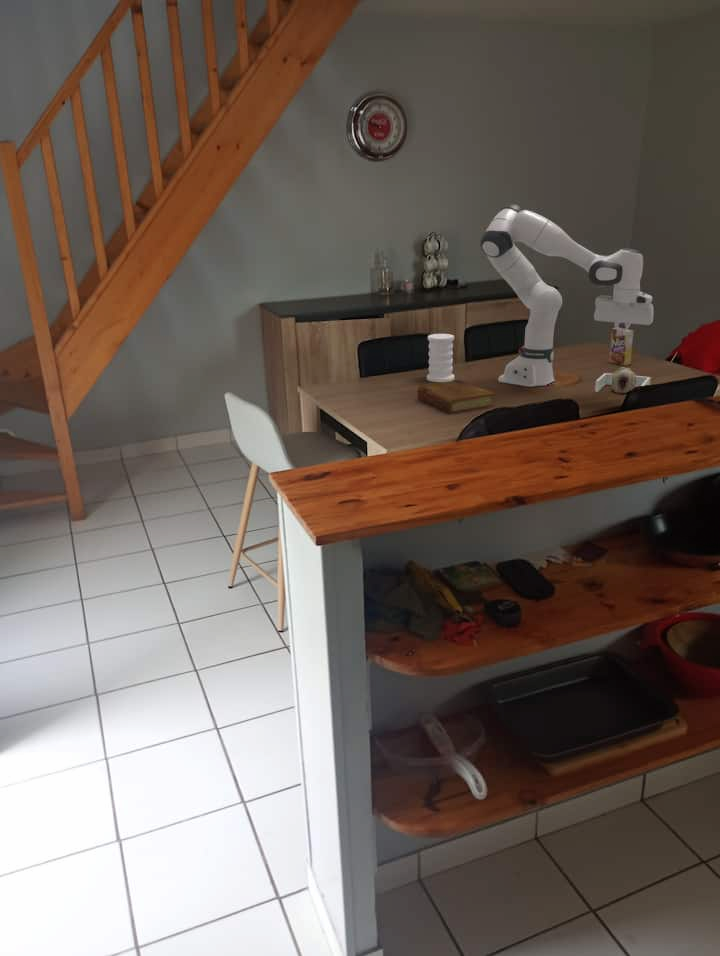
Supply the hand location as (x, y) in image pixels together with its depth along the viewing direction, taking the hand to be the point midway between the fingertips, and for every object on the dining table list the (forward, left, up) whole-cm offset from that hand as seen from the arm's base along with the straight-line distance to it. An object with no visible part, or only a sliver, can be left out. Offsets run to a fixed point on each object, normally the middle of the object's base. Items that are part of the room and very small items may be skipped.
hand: (620, 335), depth 269 cm
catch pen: (0, +12, -24) cm, 26 cm away
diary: (-52, -30, -24) cm, 65 cm away
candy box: (-11, +57, -24) cm, 63 cm away
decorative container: (-72, +1, -24) cm, 76 cm away
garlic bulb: (+1, +11, -24) cm, 26 cm away
